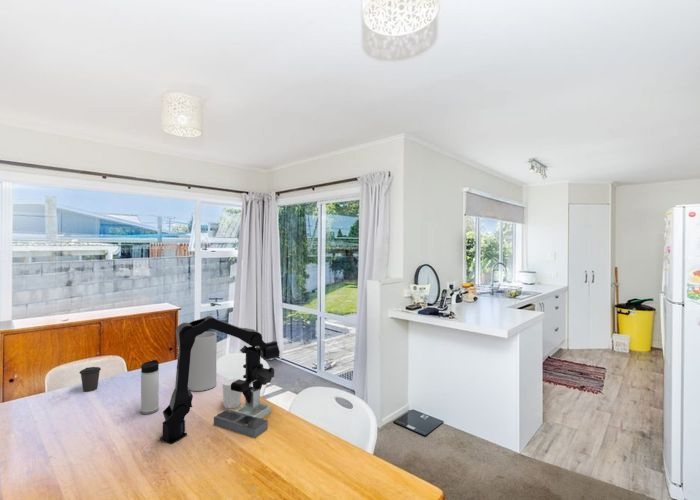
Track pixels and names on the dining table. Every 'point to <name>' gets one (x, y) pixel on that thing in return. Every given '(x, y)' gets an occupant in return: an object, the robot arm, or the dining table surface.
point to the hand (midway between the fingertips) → (252, 400)
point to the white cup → (230, 394)
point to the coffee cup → (90, 378)
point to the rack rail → (241, 423)
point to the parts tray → (259, 413)
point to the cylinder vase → (203, 362)
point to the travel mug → (150, 387)
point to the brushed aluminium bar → (253, 401)
